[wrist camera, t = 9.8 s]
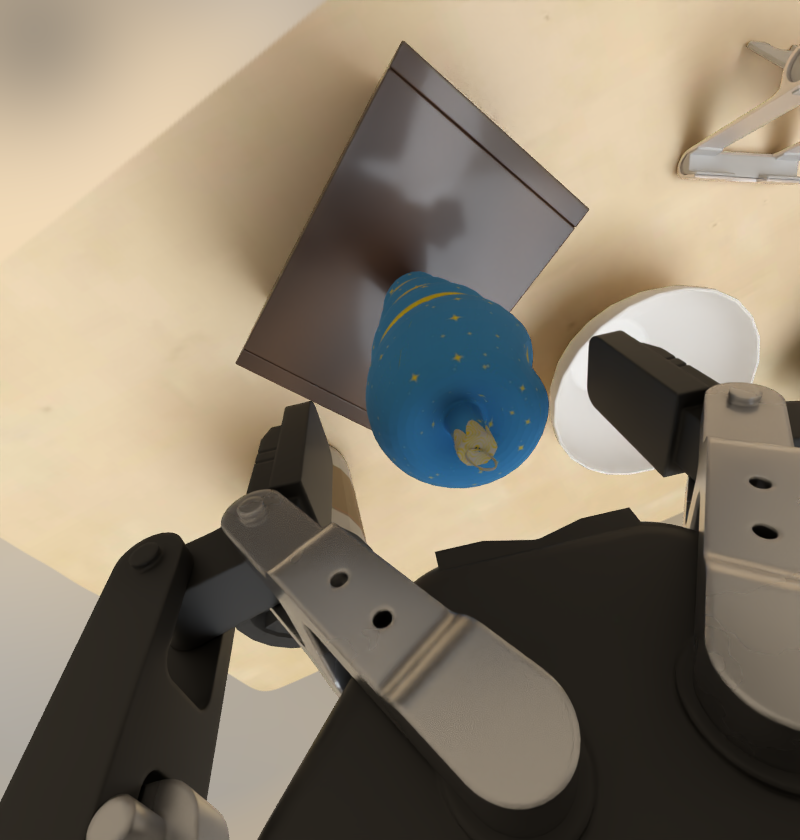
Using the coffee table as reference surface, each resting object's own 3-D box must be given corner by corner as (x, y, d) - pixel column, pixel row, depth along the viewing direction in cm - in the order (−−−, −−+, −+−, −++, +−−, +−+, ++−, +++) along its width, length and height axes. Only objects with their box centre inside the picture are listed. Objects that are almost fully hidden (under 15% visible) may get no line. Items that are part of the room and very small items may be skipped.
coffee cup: (252, 412, 38) (208, 542, 25) (380, 429, 41) (398, 555, 28) (245, 509, 44) (206, 656, 31) (358, 519, 46) (365, 659, 33)
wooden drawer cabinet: (267, 298, 33) (235, 363, 23) (379, 80, 27) (403, 39, 17) (388, 366, 37) (405, 447, 27) (509, 190, 31) (590, 209, 21)
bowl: (732, 286, 37) (807, 312, 31) (639, 440, 45) (684, 484, 39) (566, 243, 34) (614, 264, 28) (496, 419, 42) (522, 463, 36)
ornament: (438, 346, 24) (548, 565, 11) (345, 326, 23) (350, 546, 10) (470, 248, 21) (656, 389, 9) (367, 220, 20) (410, 336, 8)
